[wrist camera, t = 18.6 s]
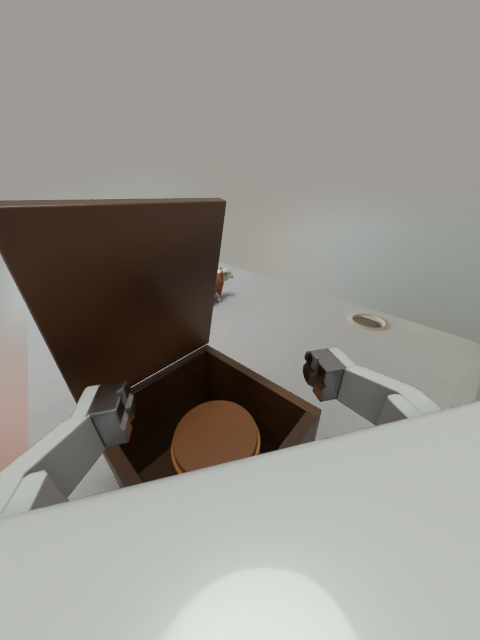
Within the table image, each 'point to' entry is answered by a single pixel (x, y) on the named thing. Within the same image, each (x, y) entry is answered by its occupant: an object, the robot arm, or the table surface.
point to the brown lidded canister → (214, 436)
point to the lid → (115, 280)
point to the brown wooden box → (197, 388)
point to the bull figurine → (221, 281)
